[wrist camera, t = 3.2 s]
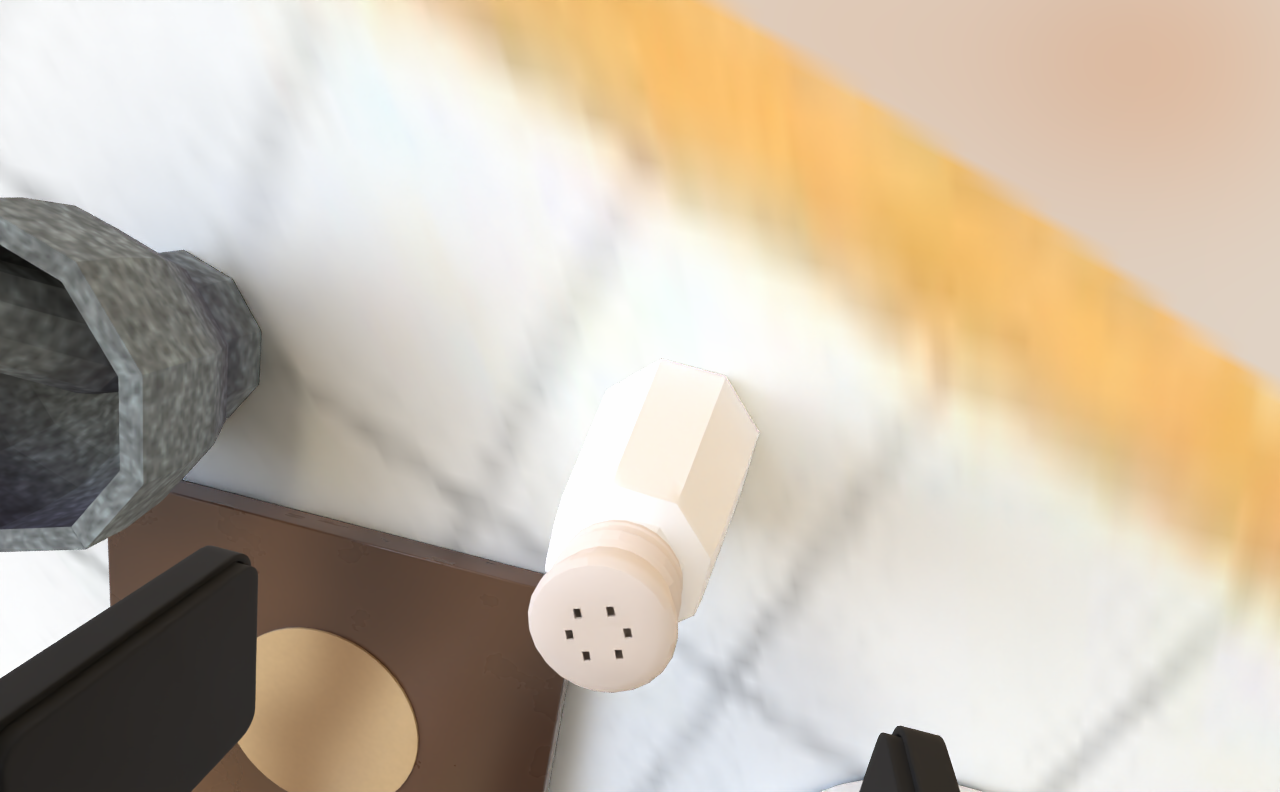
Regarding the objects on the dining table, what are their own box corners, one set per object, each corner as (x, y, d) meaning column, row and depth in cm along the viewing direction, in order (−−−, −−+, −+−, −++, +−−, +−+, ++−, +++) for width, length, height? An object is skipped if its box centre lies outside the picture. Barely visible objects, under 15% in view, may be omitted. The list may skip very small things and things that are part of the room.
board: (585, 584, 26) (578, 600, 25) (525, 918, 30) (516, 944, 29) (127, 465, 28) (101, 475, 27) (136, 796, 32) (115, 816, 31)
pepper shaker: (608, 522, 25) (489, 761, 14) (579, 367, 24) (426, 507, 13) (769, 510, 24) (767, 759, 13) (749, 346, 22) (729, 481, 12)
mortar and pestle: (355, 416, 25) (18, 598, 14) (160, 503, 28) (-263, 718, 17) (187, 103, 24) (-363, 21, 12) (-8, 226, 26) (-618, 254, 15)
